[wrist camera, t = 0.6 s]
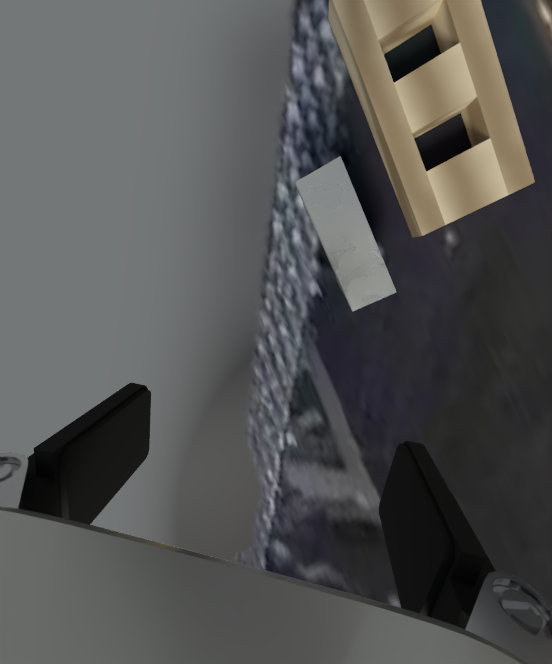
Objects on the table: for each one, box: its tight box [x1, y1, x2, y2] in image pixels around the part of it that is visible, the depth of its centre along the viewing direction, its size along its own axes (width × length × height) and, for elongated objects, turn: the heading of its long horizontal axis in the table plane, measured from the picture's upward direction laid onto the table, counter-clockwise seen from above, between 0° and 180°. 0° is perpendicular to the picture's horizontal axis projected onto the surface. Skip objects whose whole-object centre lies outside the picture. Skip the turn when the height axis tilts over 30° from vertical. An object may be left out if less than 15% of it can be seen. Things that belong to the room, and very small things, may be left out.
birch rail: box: [328, 0, 535, 237], centre depth 27 cm, size 10×22×3 cm, turn 27°
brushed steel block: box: [295, 156, 396, 311], centre depth 28 cm, size 4×12×8 cm, turn 27°
